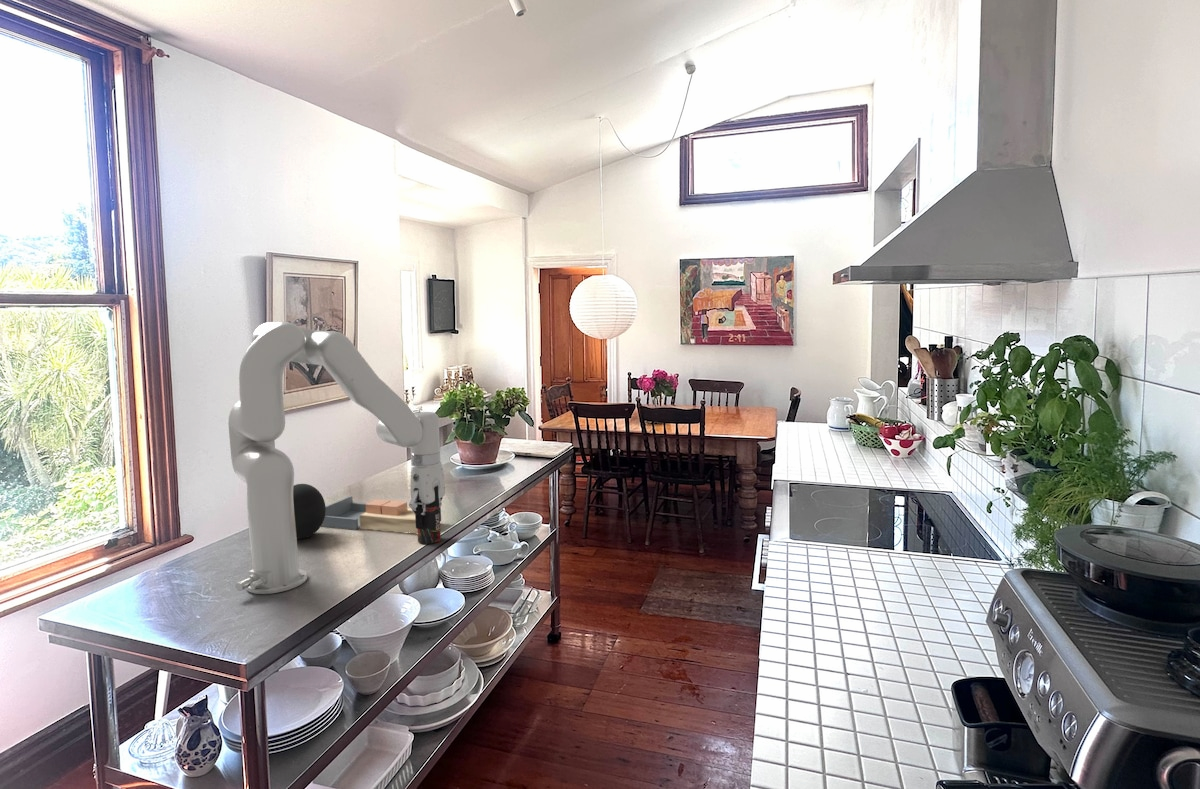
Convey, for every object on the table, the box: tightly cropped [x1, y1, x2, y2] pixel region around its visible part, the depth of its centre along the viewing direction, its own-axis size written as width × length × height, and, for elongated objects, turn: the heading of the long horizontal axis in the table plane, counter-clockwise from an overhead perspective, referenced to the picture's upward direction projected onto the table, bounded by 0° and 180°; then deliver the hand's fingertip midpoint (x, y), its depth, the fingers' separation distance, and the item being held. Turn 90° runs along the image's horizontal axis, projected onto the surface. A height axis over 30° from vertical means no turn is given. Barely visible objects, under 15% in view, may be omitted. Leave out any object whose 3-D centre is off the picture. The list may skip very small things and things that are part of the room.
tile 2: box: [382, 500, 408, 515], centre depth 189 cm, size 5×5×2 cm
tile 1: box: [365, 498, 392, 514], centre depth 191 cm, size 5×5×2 cm
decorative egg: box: [293, 483, 327, 539], centre depth 181 cm, size 12×12×15 cm
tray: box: [321, 495, 367, 530], centre depth 195 cm, size 14×13×5 cm
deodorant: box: [417, 486, 442, 545], centre depth 176 cm, size 6×6×15 cm
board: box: [359, 506, 442, 533], centre depth 189 cm, size 10×20×4 cm, turn 72°
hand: (428, 524), depth 177 cm, fingers closed on deodorant, 5 cm apart
